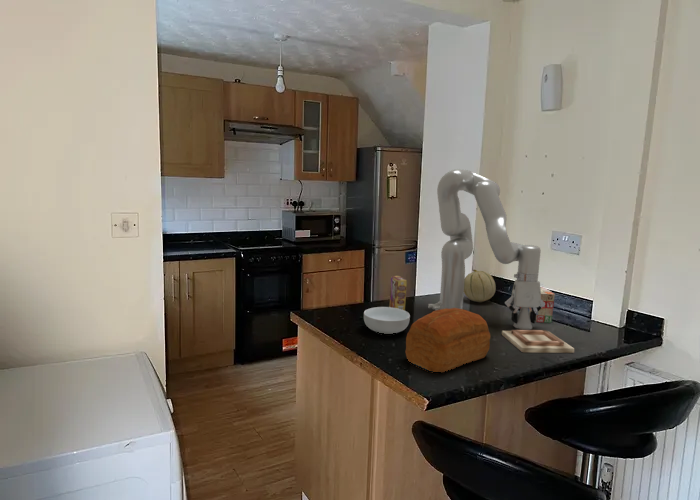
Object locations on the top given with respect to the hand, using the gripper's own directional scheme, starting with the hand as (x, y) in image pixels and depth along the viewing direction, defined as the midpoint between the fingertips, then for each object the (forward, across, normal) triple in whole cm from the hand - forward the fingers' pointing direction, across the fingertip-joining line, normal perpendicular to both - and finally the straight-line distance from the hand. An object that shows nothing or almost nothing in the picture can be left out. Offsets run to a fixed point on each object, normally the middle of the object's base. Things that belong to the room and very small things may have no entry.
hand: (523, 321), depth 189 cm
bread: (+3, -39, -33) cm, 51 cm away
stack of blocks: (+3, +13, +18) cm, 22 cm away
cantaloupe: (+2, -5, +38) cm, 38 cm away
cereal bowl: (+2, -55, -7) cm, 55 cm away
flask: (+2, 0, 0) cm, 2 cm away
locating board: (+2, -3, -18) cm, 18 cm away
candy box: (+2, -47, +16) cm, 50 cm away
